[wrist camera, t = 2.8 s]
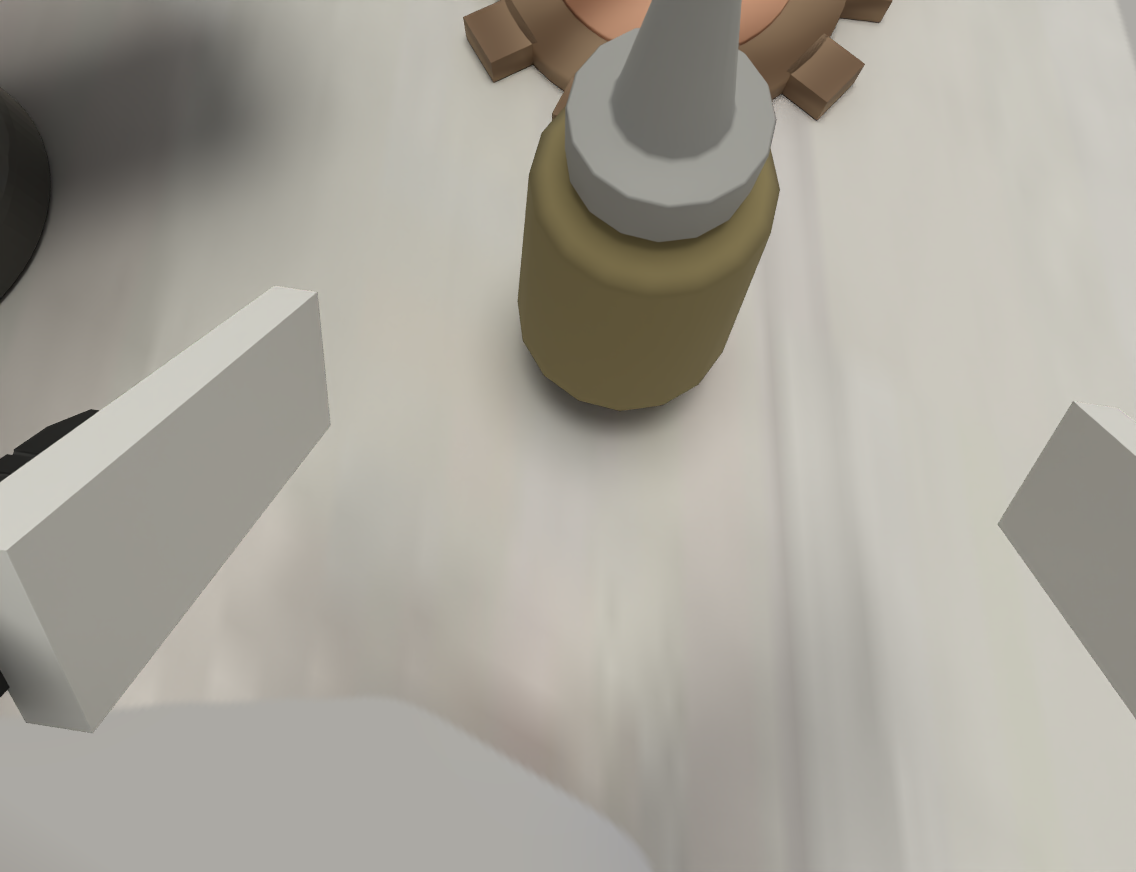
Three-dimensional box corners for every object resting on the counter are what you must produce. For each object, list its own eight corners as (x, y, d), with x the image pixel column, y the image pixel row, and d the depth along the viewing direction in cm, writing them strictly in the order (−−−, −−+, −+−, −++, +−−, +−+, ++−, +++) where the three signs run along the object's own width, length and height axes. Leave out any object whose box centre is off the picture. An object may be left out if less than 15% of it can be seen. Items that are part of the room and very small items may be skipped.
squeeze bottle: (484, 333, 28) (361, -65, 11) (621, 221, 30) (712, -302, 12) (610, 471, 27) (704, 278, 10) (747, 349, 28) (1057, -24, 11)
